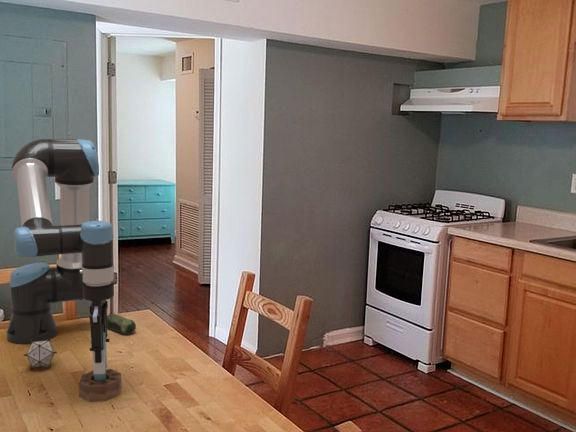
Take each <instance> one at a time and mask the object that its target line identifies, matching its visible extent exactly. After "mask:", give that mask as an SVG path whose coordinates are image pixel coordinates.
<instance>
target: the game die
mask: <svg viewBox="0 0 576 432" xmlns="http://www.w3.org/2000/svg"><path fill="white" fill-rule="evenodd" d="M51 339H52V338H49V339H48V340H45V341H36V342H33V341H32V340H31V342H32V343H30V346H29V348H28V350H27V353H25V354H23V356H24V357H27V360H28V362H29V364H30V365H31V366H30V370H31V371H32V370H33V369H34V368H39V367H40V368H41V367H48V368H49V369H51V368H52V366H51V362H52V360H53V358H54V356H55V354H57V353H58V351H55V350H54V347H53V345H52V344H51Z"/></svg>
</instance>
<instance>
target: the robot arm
mask: <svg viewBox="0 0 576 432" xmlns="http://www.w3.org/2000/svg"><path fill="white" fill-rule="evenodd" d="M11 174H12V177H13V179H14V180H15V182H16V185H17V194H18V205H19V214H20V224H21V226H20V227H16V228H15V229H14V233H13V235H14V252H15V254H16V256H18V257H20V258H21V257H23V258H25V257H27V258H28V257H29V258H30V257H31V258H33V257H34V258H35V257H43V256H56V255H61V257H60V258H58V260H56V266H54V267H53V266H52V267H51V266H50V265H49V263H47V262H35V263H28V264H26V265H22V266H19V267H17V268H15V269H14V270H12V271H11V272H10V276H9V277H10V281H9V282H10V283H9V287H10V302H11V303H10V304H11V308H10V309H11V316H10V319H9V323H8V327H7V329H6V340H7V341H8V342H11V343H13V344H32V342H31V340H32V341H33V342H36V341H48V340H49V338H51V339H52V338H54V337H55V336H57V335H58V326H57V325H58V324H57V322H56V320H55V317H54V316H53V314H52V309H51V308H52V306H51V304H55V303H63V302H64V303H65V302H75V301H84V300H85V301H90V302H91V304H90V306H89V317H88V318H89V323H90V325H89V326H90V342H91V344H90V347H89V352H92V361H93V362H92V363H93V364H92V365H93V366H92V367H93V370H92V371H93V372H94V374H105V352H104V347H103V332H105V339H106V369H107V368H108V356H107V355H108V354H107V353H108V352H107V350H108V349H107V348H108V347H107V346H108V345H107V343H110V338H108V328H107V316H108V307H109V305H108V300H109V299H112V298H113V297H114V295H115V288H114V287H115V285H114V284H115V283H114V282H113V281H114V280H115V278H114V277H115V275H114V273H115V272H114V271H115V270H114V254H113V253H114V249H113V247H114V246H113V245H114V244H113V243H114V242H113V241H114V233H113V225H112V223H111V222H110V221H106V220H90V216H89V215H90V214H89V213H90V202H89V201H90V199H89V197H90V193H89V192H90V191H89V189H90V187H91V186H92V185H93V184H94V179H95V178H96V177H98V176H99V175H100V165H99V157H98V153H97V149H96V146H95V144H94V142H93V141H91V140H89V139H80V138H40V139H39V138H38V139H35V140H33V141H30V142H28V143H27V144H25V145H24V146H22V147H21V148H20V149H19V150H18V152H17V153H16V155H15V156H14V159H13V160H12V165H11ZM47 178H54V183H55V184H56V185H58V186H59V189H60V191H59V195H60V197H59V199H60V225H54V224H53V220H52V213H51V207H50V200H49V194H48V193H49V192H48V187H47V181H46V179H47Z"/></svg>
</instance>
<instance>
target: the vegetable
mask: <svg viewBox="0 0 576 432" xmlns="http://www.w3.org/2000/svg"><path fill="white" fill-rule="evenodd" d="M136 328H137V325H136V322H135V321H134V320H133V319H131V318H130V319H129V318H126V317H124V316H120V315H118V314H115V313H110V314H107V329H110V330H112V331H115V332H118V333H121V334H122V335H125V336H127V335H131V334H132V333H134V331H136Z"/></svg>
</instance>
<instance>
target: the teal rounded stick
mask: <svg viewBox="0 0 576 432" xmlns="http://www.w3.org/2000/svg"><path fill="white" fill-rule="evenodd" d="M106 339H107V338H106ZM106 339H105V332H103V347H104V352H105V374H94V381H95V382H96V381H105V380H106V369H107V368H106V343H107V342H106Z"/></svg>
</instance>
